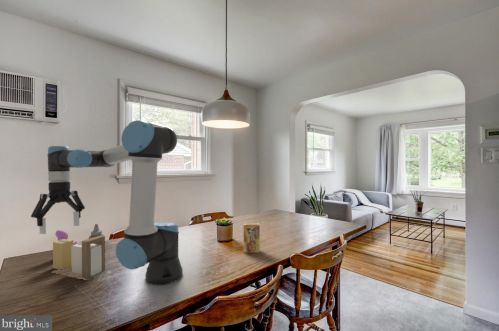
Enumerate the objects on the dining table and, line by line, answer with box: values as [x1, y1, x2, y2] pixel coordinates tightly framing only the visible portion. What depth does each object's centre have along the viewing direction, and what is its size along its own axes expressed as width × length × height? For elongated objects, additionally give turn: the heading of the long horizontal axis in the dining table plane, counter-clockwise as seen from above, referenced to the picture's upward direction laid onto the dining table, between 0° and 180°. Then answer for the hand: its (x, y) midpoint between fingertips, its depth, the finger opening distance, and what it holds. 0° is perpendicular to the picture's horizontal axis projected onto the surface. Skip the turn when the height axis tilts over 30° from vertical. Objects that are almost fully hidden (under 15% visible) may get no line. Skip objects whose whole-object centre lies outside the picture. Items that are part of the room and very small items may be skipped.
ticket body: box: [71, 235, 106, 278], centre depth 107 cm, size 12×8×16 cm
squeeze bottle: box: [88, 223, 107, 252], centre depth 122 cm, size 8×8×18 cm
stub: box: [52, 239, 74, 270], centre depth 112 cm, size 6×5×12 cm
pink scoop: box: [54, 229, 78, 244], centre depth 124 cm, size 8×9×15 cm
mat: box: [85, 267, 112, 281], centre depth 109 cm, size 24×12×1 cm, turn 71°
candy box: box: [243, 222, 261, 253], centre depth 133 cm, size 9×4×15 cm, turn 92°
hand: (60, 229), depth 106 cm, fingers open, 13 cm apart
